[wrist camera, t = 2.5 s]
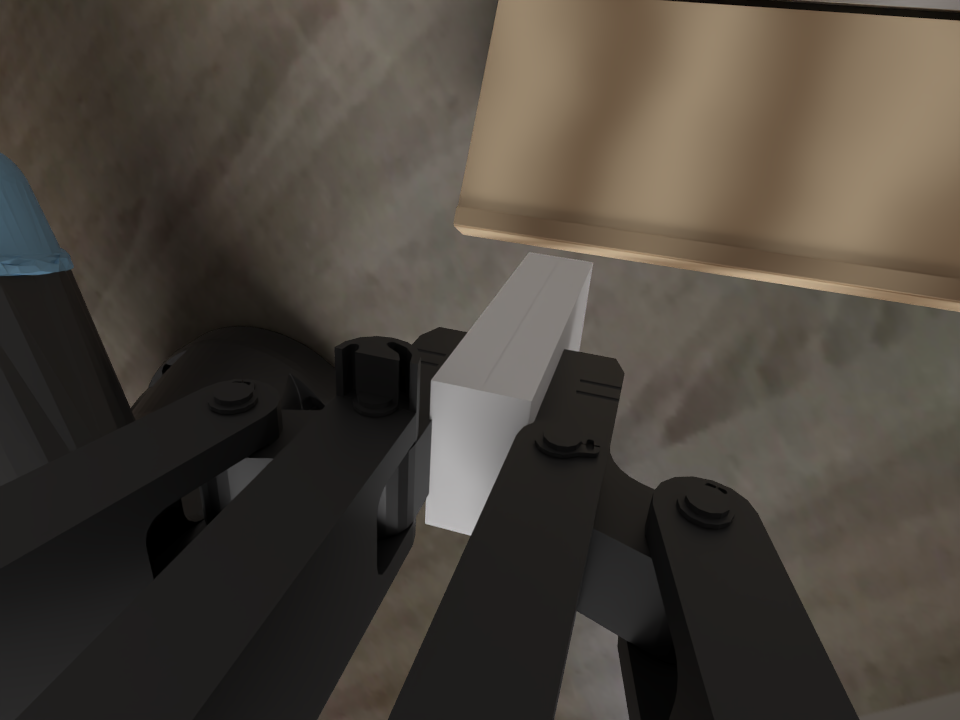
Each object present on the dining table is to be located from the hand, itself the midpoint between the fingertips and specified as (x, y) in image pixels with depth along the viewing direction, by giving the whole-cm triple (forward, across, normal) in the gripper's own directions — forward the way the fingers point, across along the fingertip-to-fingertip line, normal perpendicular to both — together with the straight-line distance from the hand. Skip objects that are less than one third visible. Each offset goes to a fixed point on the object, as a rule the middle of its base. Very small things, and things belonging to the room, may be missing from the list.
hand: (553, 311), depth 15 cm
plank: (+13, +5, +2) cm, 14 cm away
